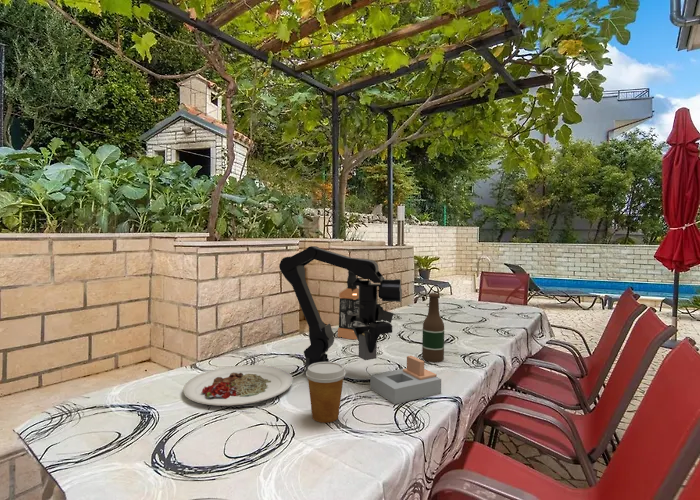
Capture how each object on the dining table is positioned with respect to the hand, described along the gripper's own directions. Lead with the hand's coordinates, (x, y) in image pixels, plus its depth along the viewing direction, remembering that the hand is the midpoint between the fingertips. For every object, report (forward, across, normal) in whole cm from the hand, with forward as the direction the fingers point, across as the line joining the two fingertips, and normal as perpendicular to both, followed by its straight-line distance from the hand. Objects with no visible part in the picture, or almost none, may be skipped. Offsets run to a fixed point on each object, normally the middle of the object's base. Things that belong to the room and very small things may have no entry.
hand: (367, 350), depth 116 cm
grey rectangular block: (+2, 0, 0) cm, 2 cm away
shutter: (+5, -13, -10) cm, 17 cm away
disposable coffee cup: (+9, -17, +22) cm, 29 cm away
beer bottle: (+9, +6, -32) cm, 34 cm away
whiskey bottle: (+9, +49, -22) cm, 55 cm away
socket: (+9, -13, -5) cm, 16 cm away
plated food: (+9, +11, +36) cm, 39 cm away
